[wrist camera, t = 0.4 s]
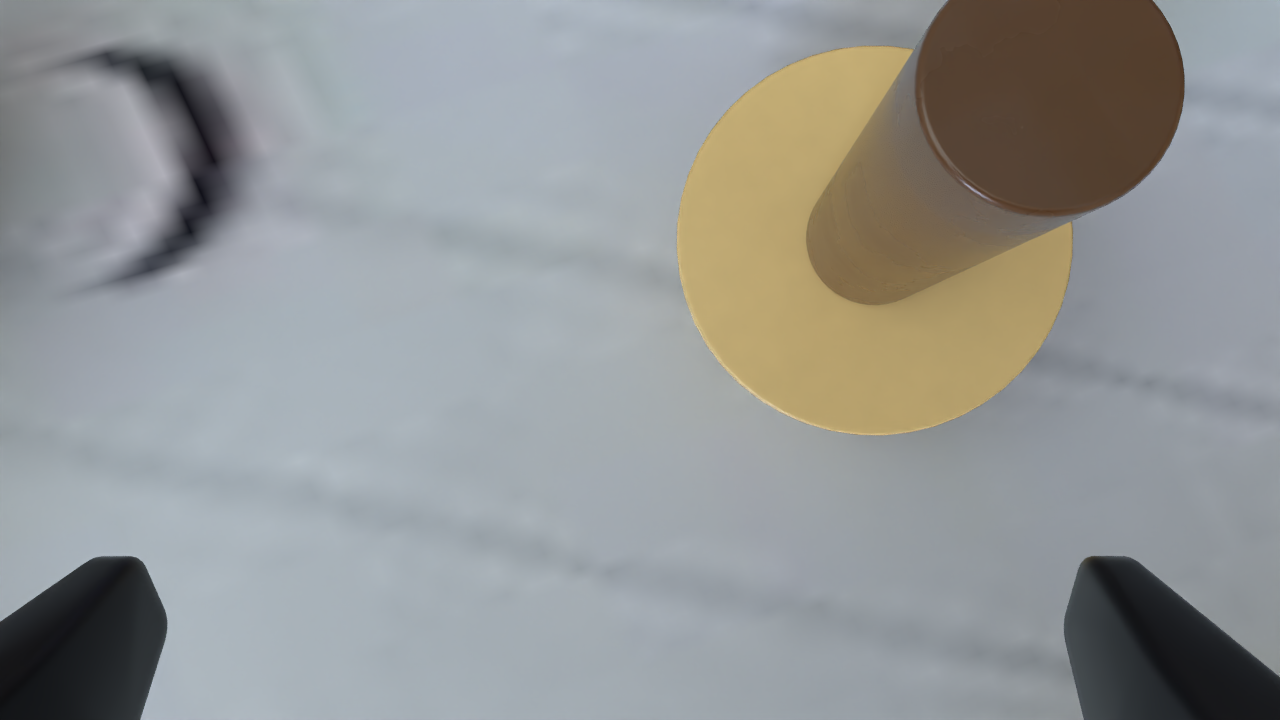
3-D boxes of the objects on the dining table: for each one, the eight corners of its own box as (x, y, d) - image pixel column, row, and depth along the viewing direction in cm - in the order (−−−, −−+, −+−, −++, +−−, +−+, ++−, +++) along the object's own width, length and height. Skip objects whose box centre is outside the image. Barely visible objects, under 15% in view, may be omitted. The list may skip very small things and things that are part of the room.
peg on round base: (1132, 233, 20) (1630, 49, 9) (876, 511, 20) (1082, 640, 9) (850, -12, 20) (1020, -451, 10) (601, 260, 20) (504, 114, 10)
